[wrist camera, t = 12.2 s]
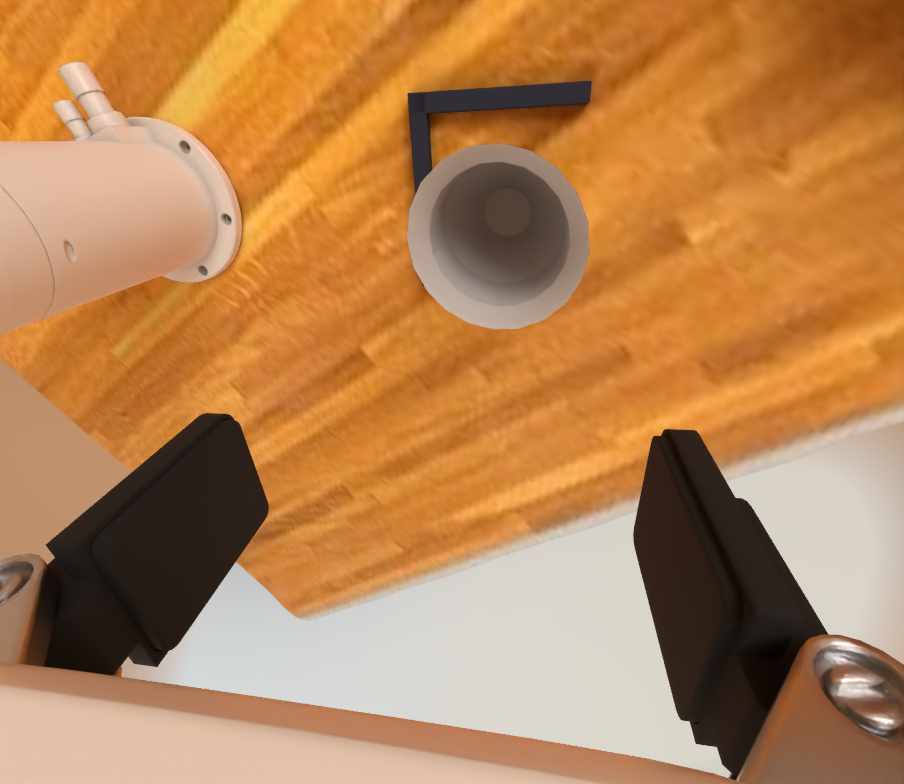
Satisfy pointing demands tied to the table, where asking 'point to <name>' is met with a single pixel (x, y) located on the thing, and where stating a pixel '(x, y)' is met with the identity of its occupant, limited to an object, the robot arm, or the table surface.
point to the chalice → (498, 236)
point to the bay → (481, 109)
